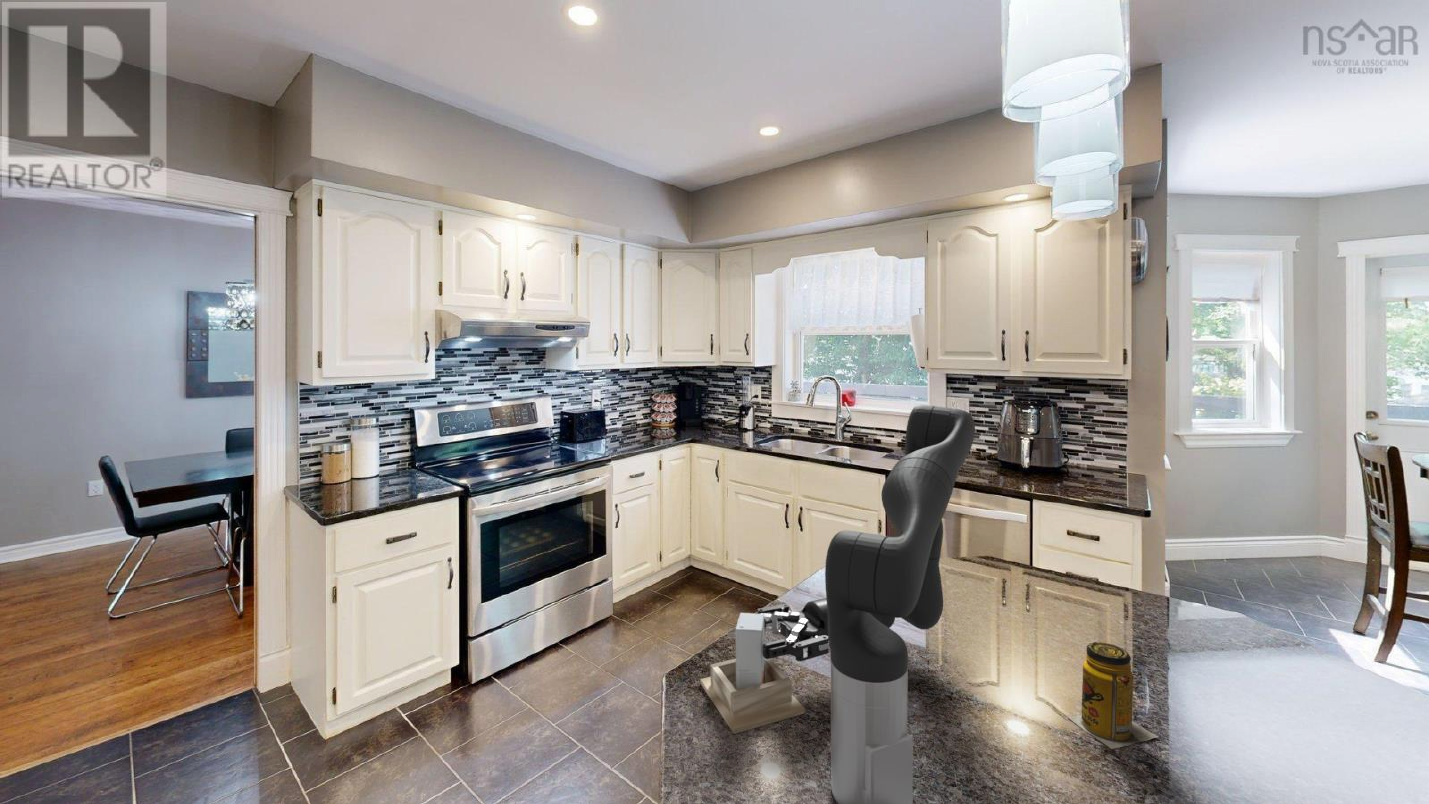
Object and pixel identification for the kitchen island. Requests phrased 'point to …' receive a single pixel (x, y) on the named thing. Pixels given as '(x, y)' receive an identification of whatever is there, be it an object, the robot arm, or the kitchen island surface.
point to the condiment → (1109, 697)
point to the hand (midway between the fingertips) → (751, 639)
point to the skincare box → (749, 651)
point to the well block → (751, 697)
